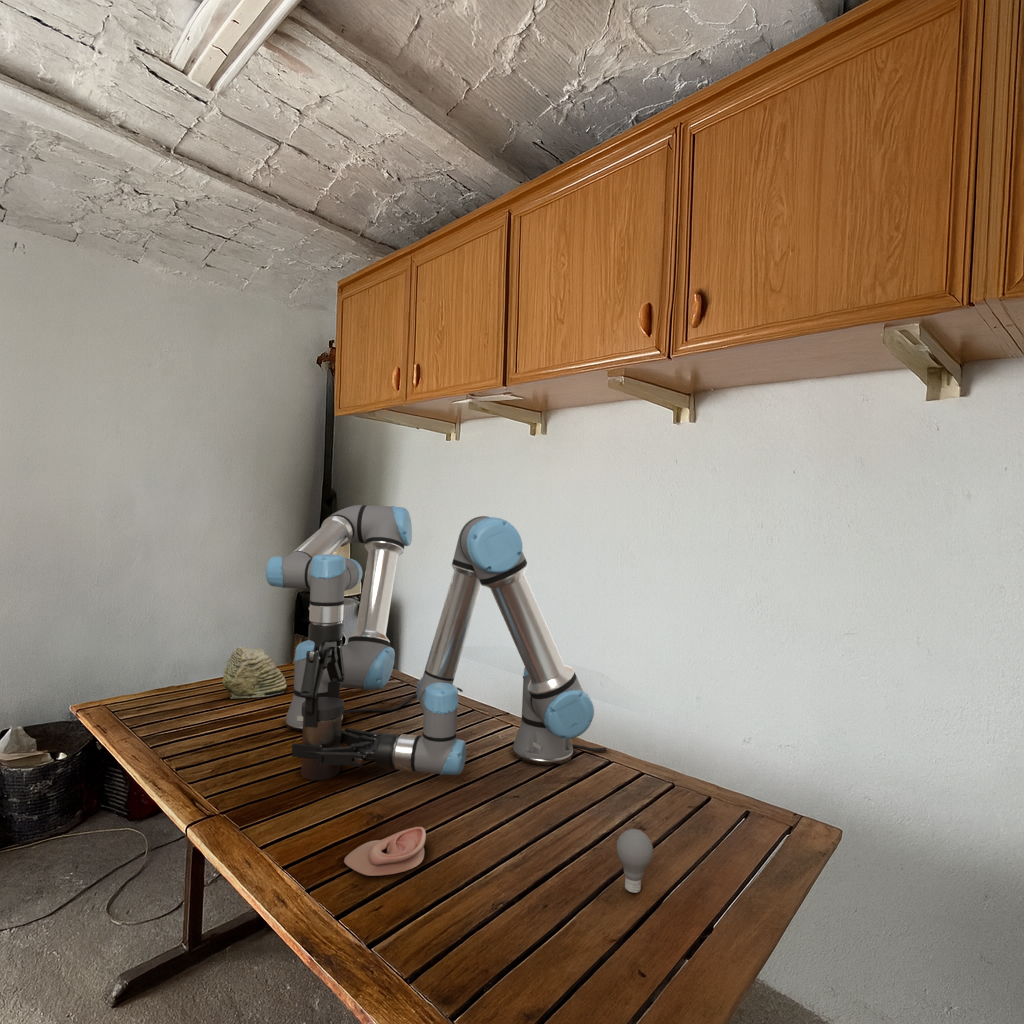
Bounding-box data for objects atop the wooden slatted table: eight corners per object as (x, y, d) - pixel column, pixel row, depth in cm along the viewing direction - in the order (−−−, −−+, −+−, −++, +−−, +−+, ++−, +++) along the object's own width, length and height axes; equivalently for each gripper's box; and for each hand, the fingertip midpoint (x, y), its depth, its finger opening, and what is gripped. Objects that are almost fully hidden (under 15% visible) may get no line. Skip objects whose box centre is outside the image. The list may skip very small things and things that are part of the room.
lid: (346, 706, 150) (347, 697, 150) (339, 720, 141) (339, 710, 141) (307, 706, 150) (307, 696, 149) (296, 719, 140) (297, 709, 140)
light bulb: (610, 879, 108) (613, 822, 108) (644, 879, 109) (647, 822, 109) (619, 902, 102) (622, 840, 102) (655, 901, 103) (658, 840, 103)
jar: (345, 774, 145) (348, 707, 145) (309, 783, 140) (312, 714, 139) (330, 761, 151) (333, 697, 151) (295, 769, 146) (297, 703, 146)
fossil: (218, 695, 195) (220, 647, 195) (278, 685, 208) (279, 640, 207) (228, 703, 189) (230, 653, 188) (289, 692, 201) (290, 645, 201)
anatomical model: (336, 847, 108) (365, 815, 119) (335, 870, 108) (364, 836, 119) (410, 859, 105) (432, 825, 116) (409, 883, 105) (431, 846, 116)
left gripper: (332, 612, 157) (328, 700, 157) (285, 631, 134) (281, 734, 134) (361, 614, 156) (357, 703, 156) (318, 633, 133) (314, 737, 133)
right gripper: (380, 789, 133) (278, 778, 136) (410, 750, 154) (321, 741, 157) (381, 753, 132) (279, 743, 135) (411, 719, 153) (322, 711, 157)
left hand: (322, 717), depth 145 cm, fingers open, 11 cm apart
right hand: (302, 742), depth 146 cm, fingers closed on jar, 8 cm apart
